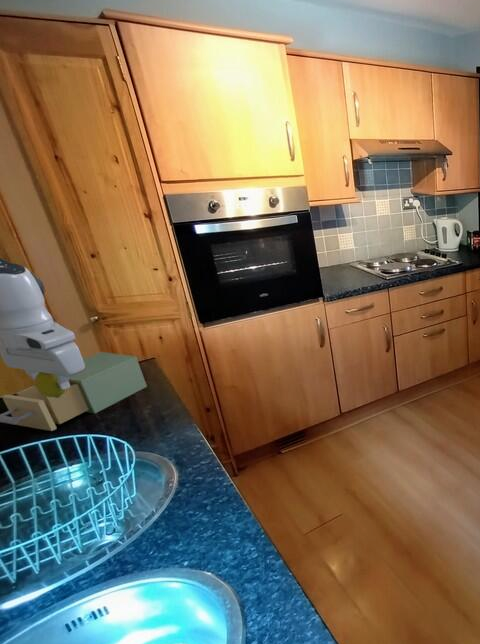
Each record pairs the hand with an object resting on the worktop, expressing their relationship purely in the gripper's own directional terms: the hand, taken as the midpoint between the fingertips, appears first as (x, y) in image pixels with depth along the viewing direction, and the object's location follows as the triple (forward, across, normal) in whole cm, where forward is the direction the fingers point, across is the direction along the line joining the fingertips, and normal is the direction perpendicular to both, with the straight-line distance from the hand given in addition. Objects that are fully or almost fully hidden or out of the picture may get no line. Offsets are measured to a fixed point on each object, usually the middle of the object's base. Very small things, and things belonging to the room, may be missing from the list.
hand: (53, 386), depth 109 cm
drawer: (+16, -16, +6) cm, 23 cm away
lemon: (+3, 0, 0) cm, 3 cm away
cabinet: (+16, -16, +19) cm, 30 cm away
